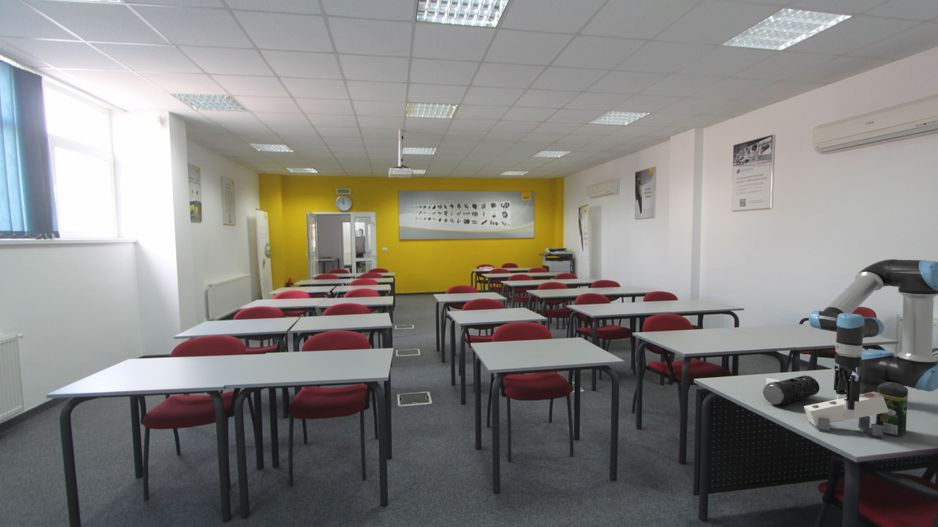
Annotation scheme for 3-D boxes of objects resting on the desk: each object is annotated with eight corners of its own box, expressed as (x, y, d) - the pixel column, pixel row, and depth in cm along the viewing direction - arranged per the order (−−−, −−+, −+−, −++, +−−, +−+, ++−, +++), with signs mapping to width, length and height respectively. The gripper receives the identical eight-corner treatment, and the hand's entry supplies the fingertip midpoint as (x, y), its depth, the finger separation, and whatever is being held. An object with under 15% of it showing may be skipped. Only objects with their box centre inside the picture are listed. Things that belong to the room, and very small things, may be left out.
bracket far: (817, 422, 168) (818, 410, 167) (829, 432, 159) (829, 419, 159) (808, 421, 169) (809, 409, 168) (819, 431, 160) (820, 418, 160)
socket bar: (879, 406, 160) (873, 390, 160) (888, 411, 155) (882, 394, 155) (809, 420, 166) (803, 404, 166) (815, 426, 161) (809, 409, 162)
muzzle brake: (819, 400, 191) (820, 378, 190) (783, 411, 179) (784, 387, 178) (796, 393, 200) (797, 372, 199) (760, 403, 188) (761, 380, 187)
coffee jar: (879, 424, 166) (882, 378, 165) (908, 432, 159) (911, 384, 158) (872, 430, 161) (874, 383, 160) (901, 439, 154) (904, 389, 153)
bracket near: (867, 428, 163) (868, 415, 162) (882, 439, 154) (883, 425, 154) (858, 427, 164) (859, 414, 163) (872, 437, 155) (872, 424, 155)
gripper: (824, 347, 169) (821, 404, 171) (849, 360, 152) (845, 422, 153) (847, 349, 167) (844, 406, 168) (875, 362, 150) (871, 425, 151)
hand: (844, 414), depth 161 cm, fingers closed on socket bar, 5 cm apart
